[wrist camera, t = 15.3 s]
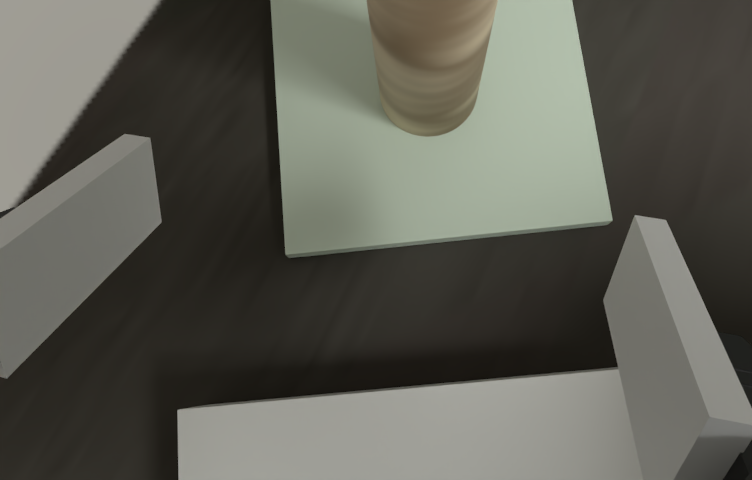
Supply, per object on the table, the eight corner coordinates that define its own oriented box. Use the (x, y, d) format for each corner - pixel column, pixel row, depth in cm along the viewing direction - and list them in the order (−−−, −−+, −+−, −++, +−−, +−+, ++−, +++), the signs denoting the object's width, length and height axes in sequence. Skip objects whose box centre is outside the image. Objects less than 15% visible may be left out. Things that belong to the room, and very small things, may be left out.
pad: (555, -53, 29) (559, -65, 28) (606, 225, 26) (612, 220, 25) (272, -17, 29) (268, -28, 29) (289, 258, 26) (285, 254, 26)
